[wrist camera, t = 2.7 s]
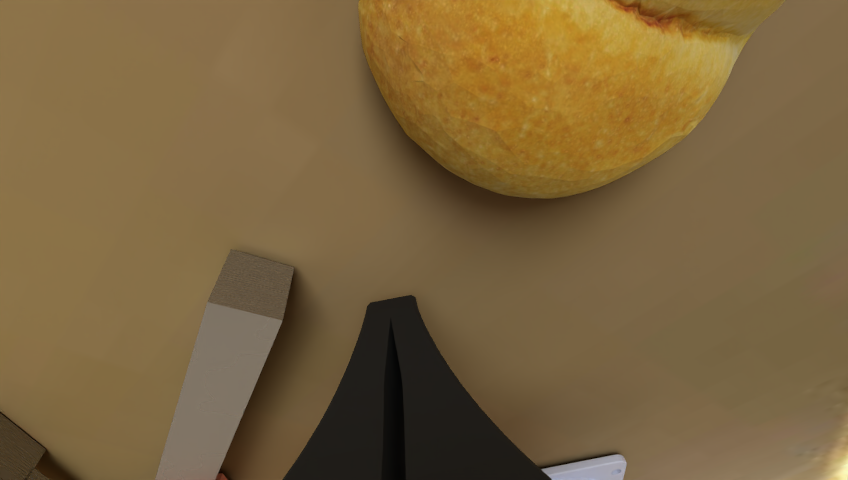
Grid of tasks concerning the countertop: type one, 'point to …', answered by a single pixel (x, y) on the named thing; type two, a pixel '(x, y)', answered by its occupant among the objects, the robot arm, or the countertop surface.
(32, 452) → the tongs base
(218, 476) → the pink bridge block
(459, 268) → the countertop surface
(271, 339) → the bar
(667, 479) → the countertop surface
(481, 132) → the bread roll
